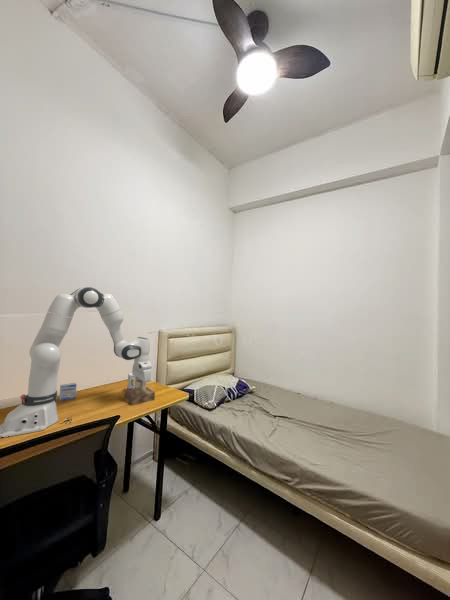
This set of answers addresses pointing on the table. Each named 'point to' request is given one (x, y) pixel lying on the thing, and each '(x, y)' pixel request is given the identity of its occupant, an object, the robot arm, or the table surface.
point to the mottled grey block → (139, 387)
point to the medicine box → (67, 391)
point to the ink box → (131, 382)
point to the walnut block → (139, 396)
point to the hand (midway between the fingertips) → (140, 385)
